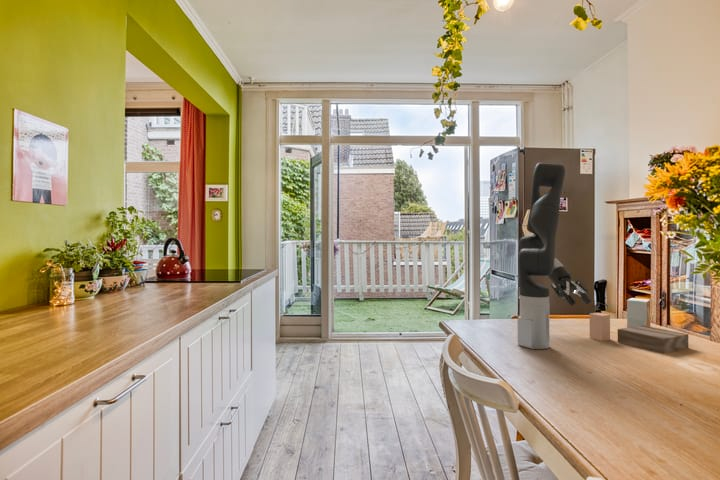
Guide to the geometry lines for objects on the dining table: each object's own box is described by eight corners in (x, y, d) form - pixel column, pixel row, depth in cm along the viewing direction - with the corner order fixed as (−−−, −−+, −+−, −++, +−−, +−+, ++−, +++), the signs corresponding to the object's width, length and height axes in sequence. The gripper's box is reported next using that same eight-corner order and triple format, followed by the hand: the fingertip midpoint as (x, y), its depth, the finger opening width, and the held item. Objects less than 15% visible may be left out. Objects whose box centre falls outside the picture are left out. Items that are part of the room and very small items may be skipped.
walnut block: (663, 354, 116) (663, 338, 116) (617, 343, 128) (617, 329, 128) (688, 349, 121) (688, 334, 121) (641, 338, 134) (641, 325, 134)
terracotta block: (601, 340, 130) (601, 315, 130) (589, 337, 134) (589, 313, 134) (610, 339, 132) (609, 314, 132) (597, 336, 136) (597, 312, 136)
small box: (647, 336, 135) (647, 301, 135) (626, 333, 140) (626, 299, 140) (651, 333, 141) (650, 299, 141) (630, 330, 145) (630, 297, 145)
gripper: (548, 266, 145) (575, 299, 134) (573, 264, 150) (601, 296, 140) (537, 278, 150) (562, 311, 139) (561, 276, 155) (588, 308, 145)
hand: (582, 303), depth 139 cm, fingers open, 8 cm apart
